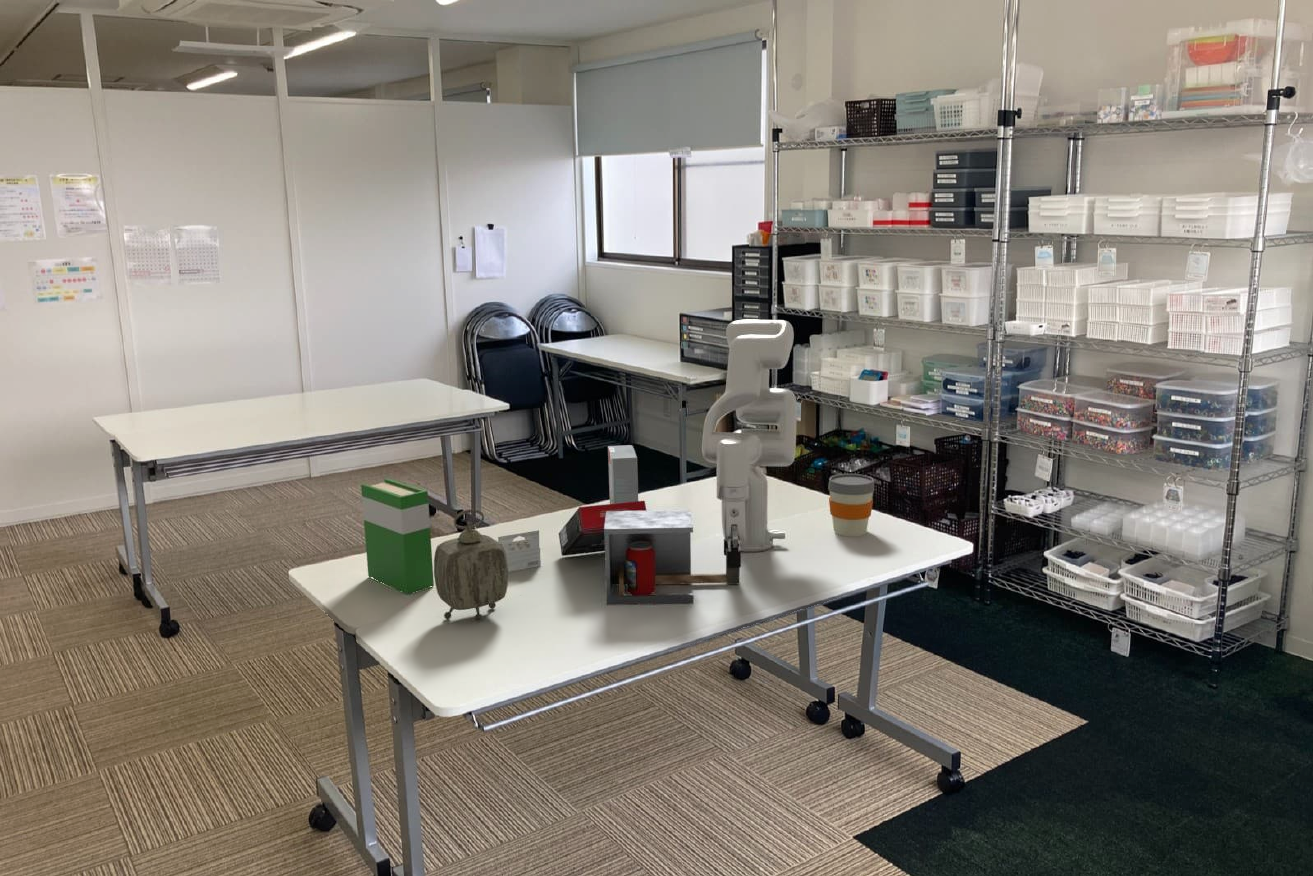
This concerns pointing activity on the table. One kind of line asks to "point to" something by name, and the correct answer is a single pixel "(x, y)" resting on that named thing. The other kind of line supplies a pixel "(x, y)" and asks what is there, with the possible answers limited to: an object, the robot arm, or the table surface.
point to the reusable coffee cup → (850, 503)
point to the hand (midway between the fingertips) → (732, 561)
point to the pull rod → (688, 578)
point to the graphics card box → (590, 527)
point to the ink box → (521, 550)
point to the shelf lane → (667, 541)
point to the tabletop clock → (470, 570)
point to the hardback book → (398, 535)
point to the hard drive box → (622, 474)
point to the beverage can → (640, 568)
